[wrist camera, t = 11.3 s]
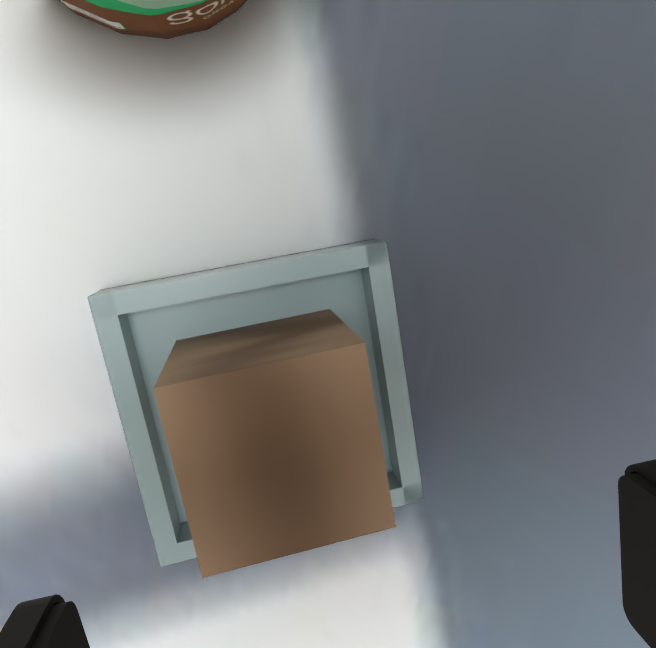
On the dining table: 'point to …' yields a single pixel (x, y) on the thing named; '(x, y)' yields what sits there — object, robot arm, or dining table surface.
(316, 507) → the cube
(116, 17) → the food container
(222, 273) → the tray
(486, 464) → the dining table surface
